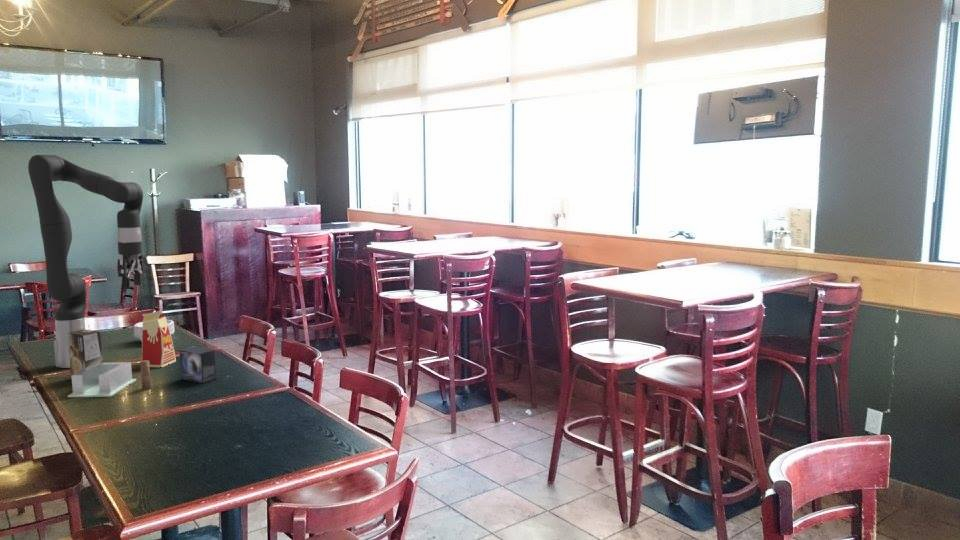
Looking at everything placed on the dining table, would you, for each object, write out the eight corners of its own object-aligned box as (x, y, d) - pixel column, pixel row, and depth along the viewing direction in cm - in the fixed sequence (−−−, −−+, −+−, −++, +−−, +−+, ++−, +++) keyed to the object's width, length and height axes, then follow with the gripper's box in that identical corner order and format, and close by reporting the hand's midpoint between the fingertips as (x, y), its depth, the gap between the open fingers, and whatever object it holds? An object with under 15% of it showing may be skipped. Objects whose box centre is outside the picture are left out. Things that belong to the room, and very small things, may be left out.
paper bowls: (126, 344, 287) (124, 325, 286) (153, 336, 301) (152, 318, 300) (156, 346, 282) (155, 327, 281) (183, 338, 297) (182, 320, 296)
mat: (67, 397, 216) (67, 395, 216) (96, 380, 234) (96, 379, 234) (110, 396, 217) (110, 395, 217) (136, 380, 235) (136, 378, 235)
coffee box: (105, 377, 238) (101, 331, 236) (86, 382, 232) (83, 335, 230) (88, 374, 242) (84, 328, 240) (69, 379, 236) (66, 332, 234)
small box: (179, 379, 235) (177, 349, 234) (195, 375, 241) (193, 345, 240) (201, 384, 230) (200, 352, 229) (217, 379, 236) (215, 348, 235)
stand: (140, 389, 224) (138, 362, 223) (144, 387, 226) (142, 360, 225) (148, 389, 224) (147, 362, 223) (152, 387, 227) (150, 360, 225)
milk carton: (176, 361, 260) (173, 307, 257) (162, 367, 251) (159, 312, 248) (152, 360, 261) (149, 307, 258) (138, 367, 251) (134, 312, 249)
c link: (97, 380, 233) (95, 362, 232) (132, 379, 233) (131, 362, 233) (72, 394, 218) (71, 375, 217) (110, 393, 218) (109, 374, 218)
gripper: (128, 238, 250) (130, 283, 252) (108, 242, 235) (111, 290, 237) (149, 238, 250) (152, 283, 252) (130, 242, 236) (133, 290, 238)
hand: (132, 286), depth 245 cm, fingers open, 8 cm apart
